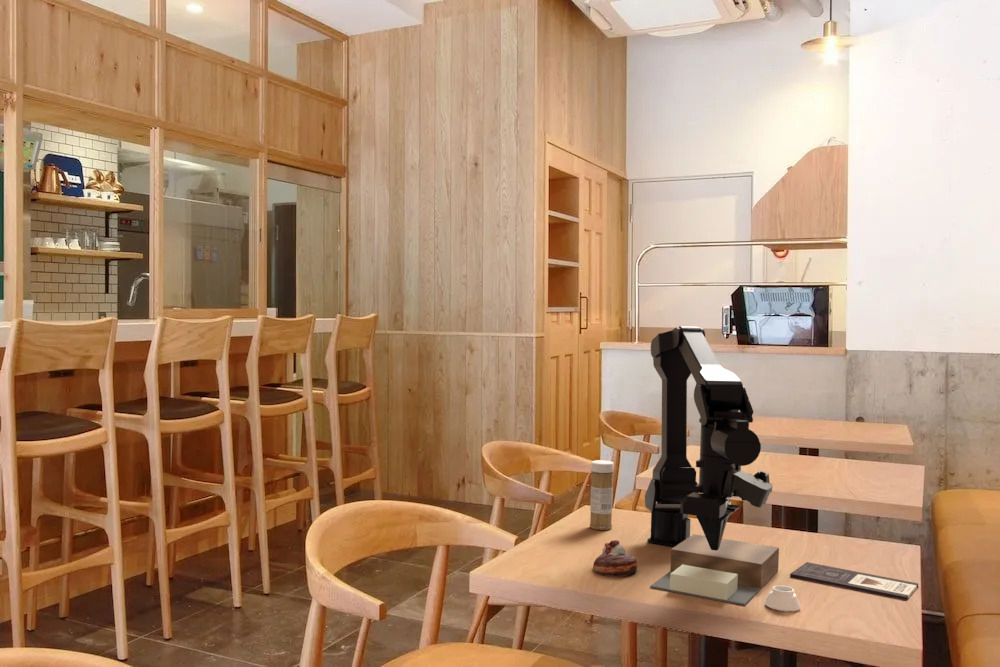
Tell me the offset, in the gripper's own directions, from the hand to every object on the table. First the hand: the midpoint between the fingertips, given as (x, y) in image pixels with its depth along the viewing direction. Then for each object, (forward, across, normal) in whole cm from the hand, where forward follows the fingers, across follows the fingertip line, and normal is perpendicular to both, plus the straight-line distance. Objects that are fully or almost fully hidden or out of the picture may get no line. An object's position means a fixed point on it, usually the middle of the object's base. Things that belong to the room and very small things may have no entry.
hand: (714, 549), depth 144 cm
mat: (+5, -5, 0) cm, 7 cm away
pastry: (+6, -4, +16) cm, 17 cm away
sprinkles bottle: (+5, +21, +30) cm, 37 cm away
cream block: (+2, -6, 0) cm, 7 cm away
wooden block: (+5, +6, 0) cm, 8 cm away
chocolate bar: (+6, +13, -19) cm, 24 cm away
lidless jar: (+6, -6, -12) cm, 15 cm away
